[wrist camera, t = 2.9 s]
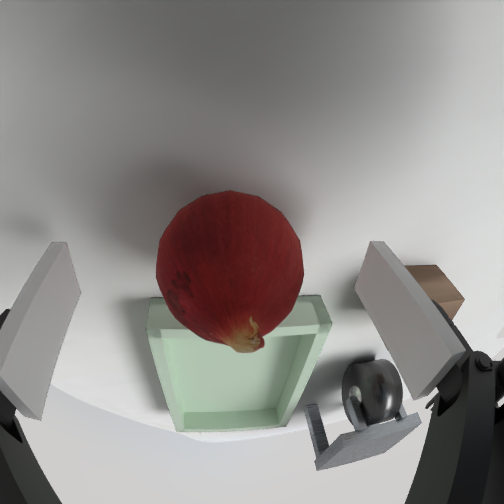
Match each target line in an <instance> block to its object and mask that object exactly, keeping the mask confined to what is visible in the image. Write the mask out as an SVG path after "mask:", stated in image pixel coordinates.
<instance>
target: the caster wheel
mask: <svg viewBox="0 0 504 504" xmlns="http://www.w3.org/2000/svg"><path fill="white" fill-rule="evenodd" d="M402 398H403V389H402V383H401V379H400V376H399V373H398V371H397V369H396V368H395V366H394V365H393V364H392V363H391V362H390V361H388V360H385V359H380V360H375V361H369V362H363V363H358V364H352V365H350V366H349V367H348V368H347V369H346V371H345V373H344V376H343V381H342V401H343V406H344V410H345V413H346V415H347V417H348V419H349V421H350V422H351V423H352V425H353V426H354V428H355V431H354V432H349V433H345V434H341V435H340V436H339V437H338V438H337V439H336V440H335V441H334V442H333V443H332V444H331V445H330V446H329V444H328V441H327V437H326V433H325V430H324V426H323V423H322V419H321V416H320V412H319V409H318V405H317V404H314V405H307V406H306V408H305V410H304V412H305V415H306V419H307V423H308V427H309V431H310V435H311V439H312V442H313V447H314V451H315V454H316V460H315V465H316V469H317V471H318V470H322V469H328V468H332V467H336V466H340V465H344V464H348V463H352V462H355V461H358V460H362V459H365V458H369V457H372V456H375V455H379V454H381V453H385V452H386V451H387V450H389V449H390V448H391V447H392V446H394V445H395V444H397V443H398V442H399V441H400V440H402V439H403V438H404V437H405V436H407V435H408V434H409V433H410V432H411V431H413V430H414V429H415V428H416V427H418V426H419V425H420V424H421V423H422V422H421V420H420V417H419V415H418V413H414V414H411V415H409V416H407V414H406V412H405V409H404V407H403V405H402ZM394 417H395V419H396V420H393V421H390V422H387V423H383V424H379V423H381V422H385V421H388V420H391V419H393V418H394Z"/></svg>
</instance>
